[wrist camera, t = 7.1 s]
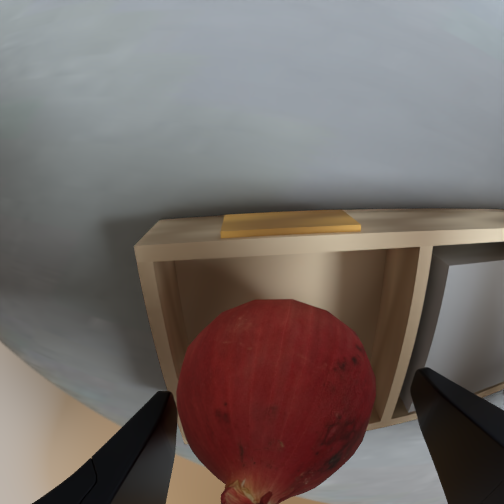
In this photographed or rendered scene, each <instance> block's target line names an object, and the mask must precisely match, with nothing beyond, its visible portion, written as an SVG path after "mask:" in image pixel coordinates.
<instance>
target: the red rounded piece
mask: <svg viewBox="0 0 504 504" xmlns="http://www.w3.org/2000/svg"><path fill="white" fill-rule="evenodd" d="M375 398H376V377H375V375H374V372H373V370H372V367H371V364H370V362H369V359H368V357H367V354H366V351H365V349H364V346H363V344H362V342H361V341H360V339H359V337H358V336H357V334H356V332H355V331H353V330H352V329H351V328H350V327H348V326H347V325H346V324H344V323H343V322H342V321H340V320H339V319H338V318H336V317H335V316H334V315H332V314H331V313H330V312H328V311H327V310H324V309H321V308H318V307H315V306H312V305H309V304H306V303H303V302H300V301H297V300H294V299H257V300H252V301H250V302H247V303H245V304H242V305H239V306H237V307H234V308H231V309H229V310H226V311H224V312H222V313H220V314H219V315H218V316H217V317H216V318H215V319H214V320H213V321H212V322H211V323H210V324H209V325H208V326H207V327H205V328H204V329H203V330H202V331H201V332H200V333H199V334H198V335H197V337H196V338H195V339H194V340H193V341H192V343H191V344H190V345H189V346H188V347H187V351H186V354H185V357H184V360H183V364H182V367H181V372H180V376H179V381H178V385H177V390H176V399H177V410H178V414H179V417H180V421H181V424H182V427H183V431H184V434H185V437H186V440H187V442H188V444H189V446H190V448H191V449H192V451H193V452H194V454H195V455H196V456H197V458H198V459H199V460H200V461H201V462H202V463H203V464H204V465H205V467H206V468H207V469H208V470H209V471H210V472H212V473H213V474H214V475H215V476H216V477H217V478H218V479H219V480H221V481H222V482H223V483H225V484H226V485H225V490H224V492H223V493H222V494H221V504H279V503H280V502H282V501H284V500H286V499H288V498H290V497H293V496H296V495H299V494H302V493H305V492H307V491H309V490H311V489H313V488H315V487H317V486H318V485H320V484H321V483H322V482H324V481H325V480H326V479H327V478H329V477H330V476H331V475H332V474H333V473H334V472H336V471H337V470H338V469H339V468H340V467H341V466H342V465H343V464H345V463H346V462H347V461H348V460H349V459H350V458H351V457H352V456H353V454H354V453H355V451H356V450H357V448H358V447H359V445H360V444H361V442H362V440H363V438H364V435H365V432H366V429H367V427H368V423H369V420H370V416H371V413H372V409H373V405H374V402H375Z"/></svg>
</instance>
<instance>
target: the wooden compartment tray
mask: <svg viewBox="0 0 504 504" xmlns="http://www.w3.org/2000/svg"><path fill="white" fill-rule="evenodd" d="M134 250H135V256H136V261H137V267H138V272H139V277H140V282H141V287H142V292H143V297H144V301H145V306H146V310H147V315H148V319H149V323H150V328H151V332H152V336H153V340H154V344H155V348H156V352H157V355H158V359H159V363H160V367H161V370H162V374H163V377H164V381H165V384H166V388H167V391H170V392H172V394H173V396H174V400H175V403H176V406H177V399H176V390H177V385H178V381H179V376H180V372H181V367H182V364H183V360H184V357H185V354H186V351H187V347H188V346H189V345H190V344H191V343H192V341H193V340H194V339H195V338H196V337H197V335H198V334H199V333H200V332H201V331H202V330H203V329H204V328H205V327H207V326H208V325H209V324H210V323H211V322H212V321H213V320H214V319H215V318H216V317H217V316H218V315H219V314H220V313H222V312H224V311H226V310H229V309H231V308H234V307H237V306H239V305H242V304H245V303H247V302H250V301H252V300H257V299H294V300H297V301H300V302H303V303H306V304H309V305H312V306H315V307H318V308H321V309H324V310H327V311H328V312H330V313H331V314H332V315H334V316H335V317H336V318H338V319H339V320H340V321H342V322H343V323H344V324H346V325H347V326H348V327H350V328H351V329H352V330H353V331H355V332H356V334H357V336H358V337H359V339H360V341H361V342H362V344H363V346H364V349H365V351H366V354H367V357H368V359H369V362H370V364H371V367H372V370H373V372H374V375H375V377H376V398H375V402H374V405H373V409H372V413H371V416H370V420H369V423H368V427H367V429H366V431H368V430H373V429H378V428H382V427H387V426H391V425H395V424H400V423H404V422H408V421H411V420H415V419H418V418H417V414H416V411H415V407H414V404H413V401H412V397H411V394H410V387H411V383H412V380H413V377H414V374H415V371H416V370H417V369H420V368H424V367H429V368H431V369H432V370H434V371H436V372H438V373H439V374H441V375H443V376H444V377H446V378H448V379H450V380H451V381H453V382H455V383H457V384H458V385H460V386H462V387H464V388H465V389H467V390H469V391H470V392H472V393H474V394H476V395H477V396H479V397H481V398H483V397H485V396H488V395H490V394H493V393H495V392H498V391H500V390H502V389H504V209H444V208H425V209H355V210H342V209H341V210H311V211H287V212H265V213H246V214H229V215H219V216H204V217H190V218H176V219H163V220H159V221H158V222H157V223H156V224H155V225H154V226H153V227H152V228H151V229H150V230H149V231H148V232H147V233H146V234H145V235H144V236H143V237H142V238H141V239H140V240H139V241H138V242H137V243H136V244H135V245H134ZM177 411H178V410H177ZM177 423H178V426H179V429H180V432H181V434H182V437H183V440H184V443H185V444H188V442H187V440H186V437H185V434H184V431H183V427H182V424H181V421H180V417H179V414H178V419H177Z"/></svg>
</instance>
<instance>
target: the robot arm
mask: <svg viewBox="0 0 504 504" xmlns="http://www.w3.org/2000/svg"><path fill="white" fill-rule="evenodd" d="M410 394H411V397H412V401H413V404H414V407H415V411H416V414H417V418H418V422H419V425H420V428H421V431H422V434H423V437H424V439H425V442H426V444H427V447H428V449H429V452H430V455H431V457H432V460H433V462H434V465H435V468H436V471H437V473H438V476H439V479H440V482H441V484H442V487H443V490H444V493H445V496H446V499H447V502H448V504H504V410H502V409H500V408H498V407H497V406H495V405H493V404H491V403H490V402H488V401H486V400H484V399H483V398H481V397H479V396H477V395H476V394H474V393H472V392H470V391H469V390H467V389H465V388H464V387H462V386H460V385H458V384H457V383H455V382H453V381H451V380H450V379H448V378H446V377H444V376H443V375H441V374H439V373H438V372H436V371H434V370H432V369H431V368H429V367H424V368H420V369H417V370H416V371H415V374H414V377H413V380H412V383H411V387H410ZM177 419H178V411H177V406H176V403H175V400H174V396H173V394H172V392H170V391H158V392H157V393H156V394H155V395H154V396H153V397H152V398H151V399H150V400H149V401H148V402H147V403H146V404H145V405H144V406H143V407H142V408H141V409H140V410H139V411H138V412H137V413H136V414H135V415H134V416H133V417H132V418H131V419H130V420H129V421H128V422H127V423H126V424H125V425H124V426H123V427H122V428H121V429H120V430H119V431H118V432H117V433H116V434H115V435H114V436H113V437H112V438H111V439H110V440H109V441H108V442H107V443H106V444H105V445H104V446H102V447H101V448H100V449H99V450H98V451H97V452H96V453H95V454H94V455H93V456H92V459H91V458H90V459H89V460H88V461H87V462H86V463H85V464H84V465H83V466H81V467H80V468H79V469H78V470H77V471H76V472H75V473H74V474H72V475H71V476H70V477H69V478H67V479H66V480H65V481H63V482H62V483H61V484H60V485H58V486H57V487H55V488H54V489H53V490H51V491H50V492H48V493H47V494H46V495H44V496H43V497H41V498H40V499H38V500H37V501H35V502H34V503H32V504H166V498H167V493H168V488H169V483H170V478H171V473H172V468H173V463H174V457H175V446H176V432H177Z"/></svg>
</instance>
